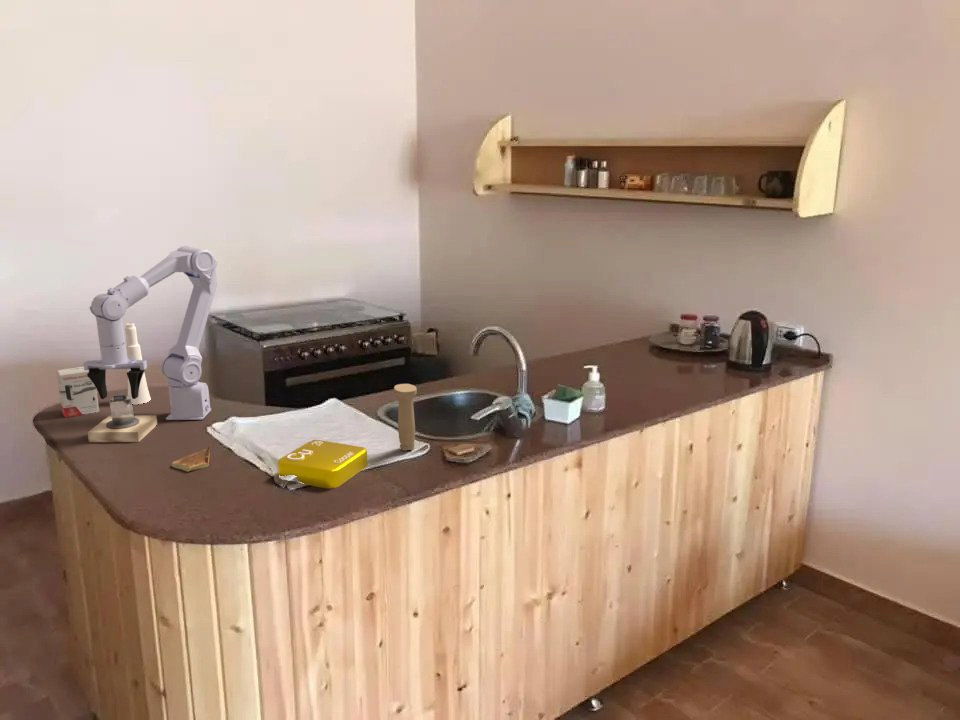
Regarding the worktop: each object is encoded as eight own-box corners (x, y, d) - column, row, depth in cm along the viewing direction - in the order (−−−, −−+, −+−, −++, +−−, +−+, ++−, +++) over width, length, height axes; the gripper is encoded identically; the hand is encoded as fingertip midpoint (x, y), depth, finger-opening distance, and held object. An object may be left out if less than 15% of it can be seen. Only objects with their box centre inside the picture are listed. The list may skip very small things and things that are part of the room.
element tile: (334, 491, 174) (332, 470, 172) (274, 480, 179) (272, 459, 178) (371, 465, 187) (370, 445, 186) (314, 455, 193) (313, 436, 191)
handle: (413, 443, 199) (411, 382, 195) (421, 452, 193) (419, 390, 189) (393, 445, 197) (391, 385, 193) (400, 455, 191) (398, 393, 187)
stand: (157, 424, 212) (156, 414, 212) (138, 441, 201) (137, 430, 200) (110, 425, 212) (108, 414, 212) (88, 442, 201) (87, 431, 200)
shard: (209, 453, 195) (209, 445, 194) (232, 459, 191) (231, 452, 190) (170, 468, 186) (169, 460, 186) (193, 475, 182) (192, 467, 182)
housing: (136, 418, 209) (133, 391, 207) (130, 425, 204) (127, 397, 202) (116, 419, 208) (112, 392, 206) (109, 425, 203) (105, 398, 202)
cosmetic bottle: (128, 399, 233) (118, 322, 227) (151, 397, 234) (142, 320, 228) (126, 405, 227) (116, 327, 221) (150, 403, 229) (141, 325, 223)
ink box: (64, 418, 218) (58, 374, 214) (62, 413, 222) (55, 370, 218) (100, 412, 222) (94, 369, 219) (96, 407, 226) (91, 365, 223)
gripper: (74, 348, 197) (82, 403, 200) (136, 347, 197) (143, 402, 200) (88, 340, 203) (95, 394, 207) (147, 340, 203) (154, 393, 207)
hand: (119, 397), depth 204 cm, fingers open, 7 cm apart
